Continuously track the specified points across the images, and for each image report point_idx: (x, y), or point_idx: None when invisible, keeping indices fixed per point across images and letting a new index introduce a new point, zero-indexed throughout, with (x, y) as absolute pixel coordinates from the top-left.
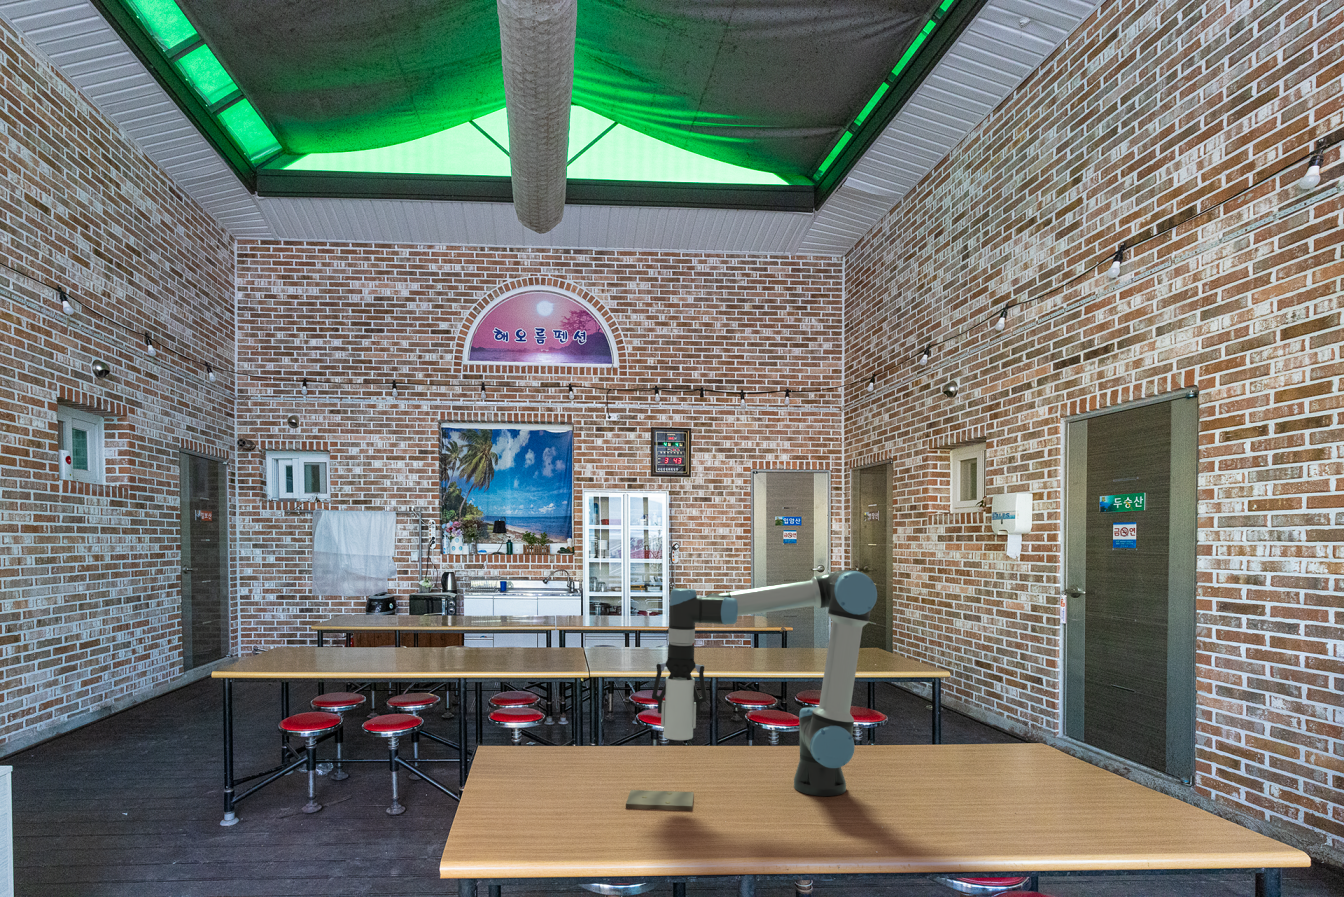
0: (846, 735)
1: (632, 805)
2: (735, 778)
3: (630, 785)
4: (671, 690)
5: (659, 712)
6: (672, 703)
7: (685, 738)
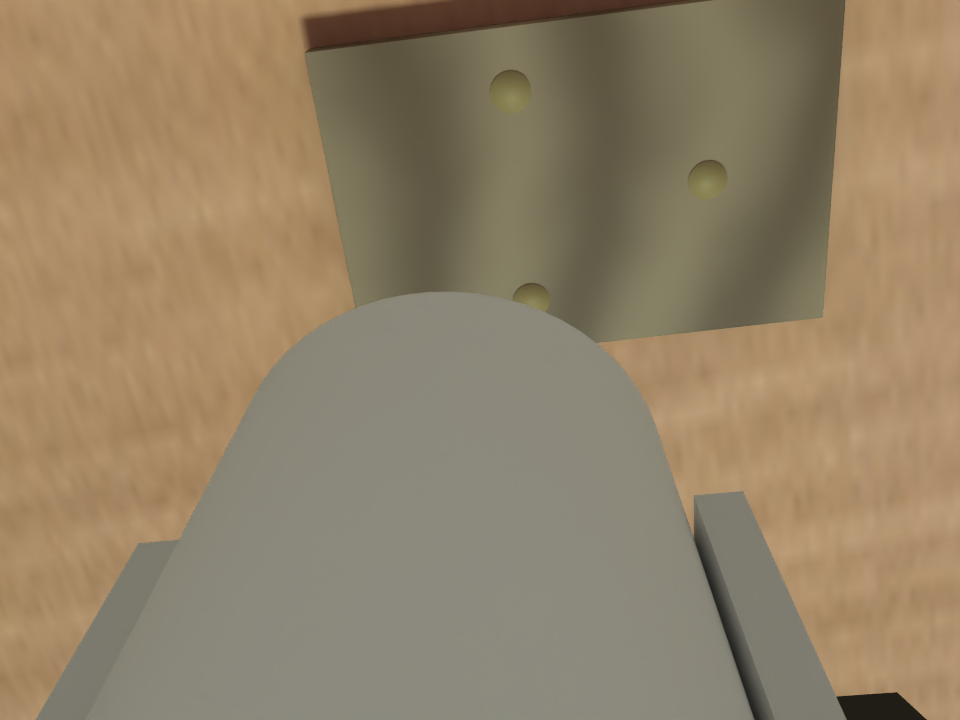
0: None
1: None
2: None
3: (822, 471)
4: None
5: (877, 711)
6: None
7: (298, 348)
